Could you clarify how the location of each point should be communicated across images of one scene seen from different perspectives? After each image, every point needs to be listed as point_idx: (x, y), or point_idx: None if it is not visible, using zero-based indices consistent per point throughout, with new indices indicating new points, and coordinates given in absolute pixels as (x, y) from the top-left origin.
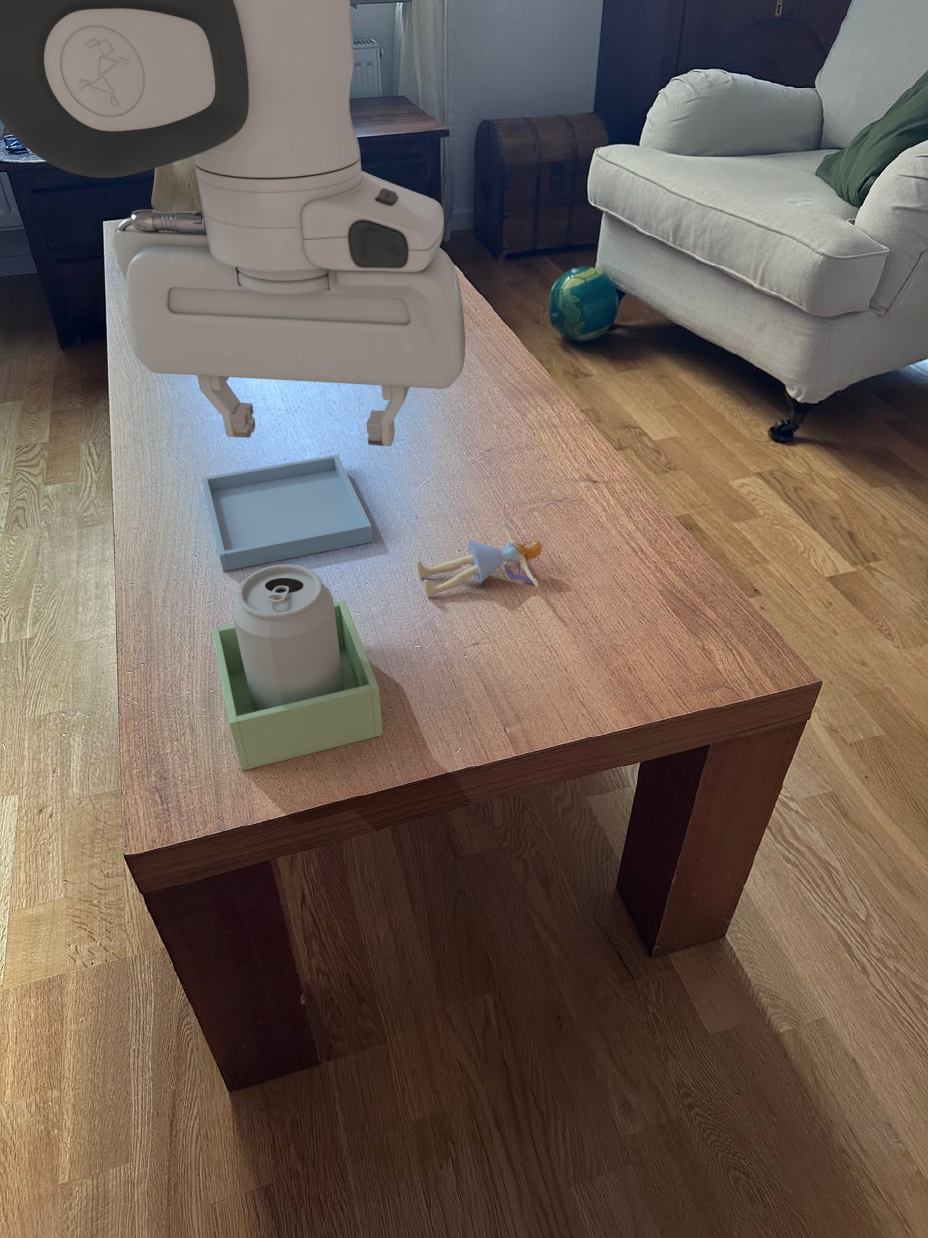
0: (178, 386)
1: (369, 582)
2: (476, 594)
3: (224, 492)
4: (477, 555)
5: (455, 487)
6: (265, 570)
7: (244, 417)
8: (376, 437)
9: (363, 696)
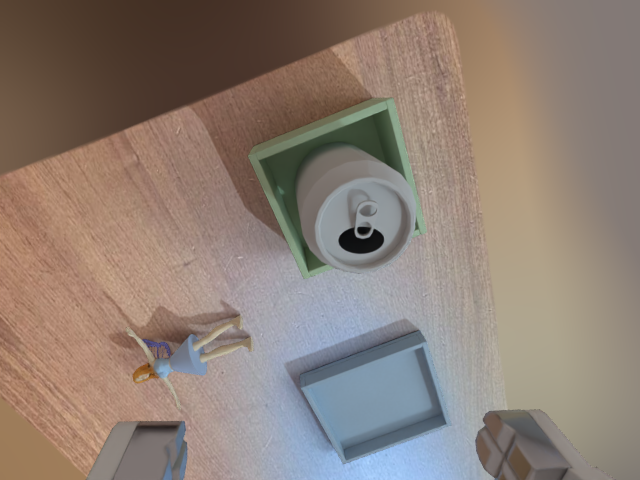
0: None
1: (295, 328)
2: (197, 323)
3: (429, 413)
4: (189, 356)
5: (238, 442)
6: (386, 260)
7: (529, 463)
8: (146, 442)
9: (263, 148)
